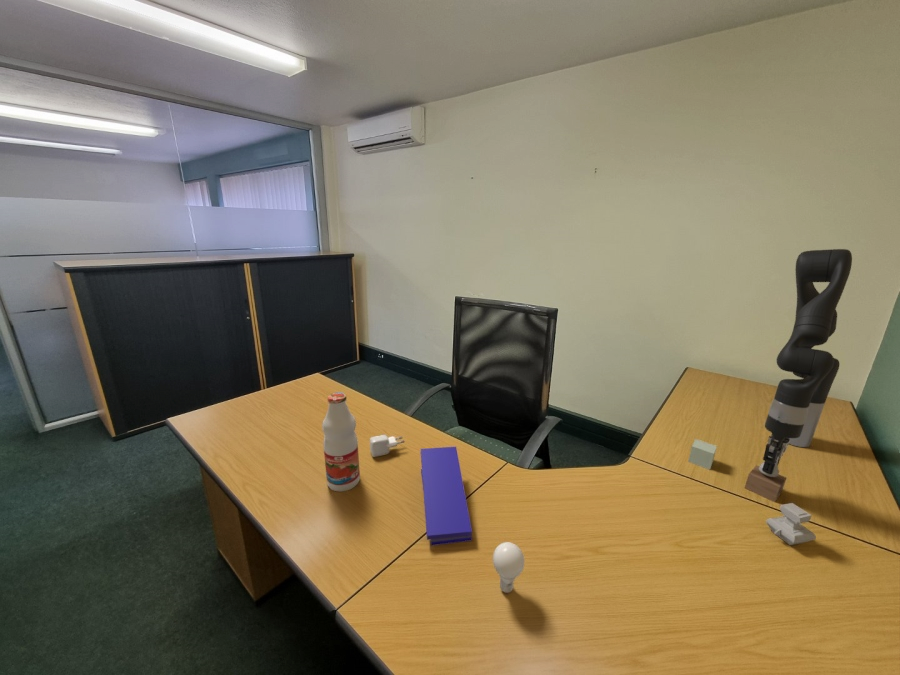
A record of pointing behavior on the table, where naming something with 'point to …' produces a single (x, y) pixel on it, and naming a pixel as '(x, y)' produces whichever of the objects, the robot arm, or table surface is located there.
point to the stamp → (791, 525)
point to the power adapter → (382, 444)
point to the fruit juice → (340, 445)
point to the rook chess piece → (775, 471)
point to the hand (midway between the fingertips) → (769, 469)
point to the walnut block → (765, 484)
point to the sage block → (702, 454)
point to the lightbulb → (508, 564)
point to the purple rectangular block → (444, 497)
